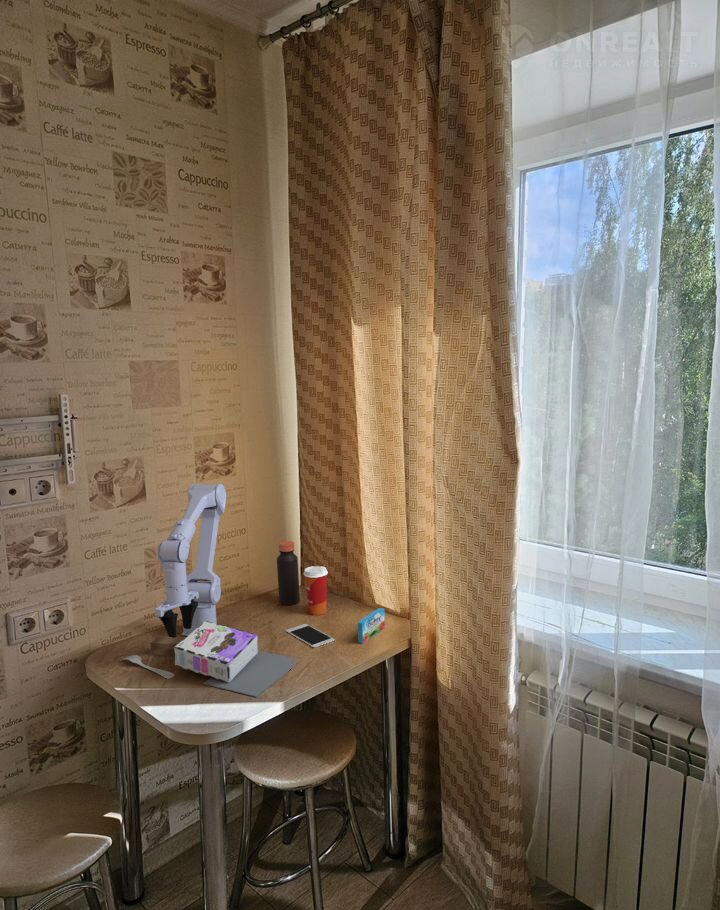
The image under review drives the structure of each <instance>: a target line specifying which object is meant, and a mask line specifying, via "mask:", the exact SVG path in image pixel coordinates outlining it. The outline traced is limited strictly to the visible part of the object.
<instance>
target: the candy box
mask: <svg viewBox="0 0 720 910" xmlns="http://www.w3.org/2000/svg"><path fill="white" fill-rule="evenodd" d="M184 638H185V639H184V640H182V641H181V642H180V643H179V644H178V645H176V646H175V647H174V652H175V656H174V666H175V667H178V668H181V669H184V670H188V671H190V672H194V673H197V674H199V675H203V676H206V677H208V678H209V677H210V678H211V677H212V678H215V679H218V680H221V681H224V682H227V683H230V682H231V680H232V679H233V678H234V677H235V676H236V675H237V674H238V673H239V672H240V671H241V670H242V669H243V668H244V667H245V666H246V665H247V664H248V663H249V662H250V661H251V659H252V658H253V657H254V656H255V655H256V654H257V653H258V651H259V645H258V644H259V643H258V634H255V633H253V632H248V631H244V630H240V629H236V628H233V627H230V626H226V625H222V624H218V623H217V624H215V623H211V622H208V621H205V622H204V623H202V624H201V625H200V626H199V627H198V628H197V629H195V630H194V631H193V632H192V633H191V634H190V635H188V636H186V637H184Z"/></svg>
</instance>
